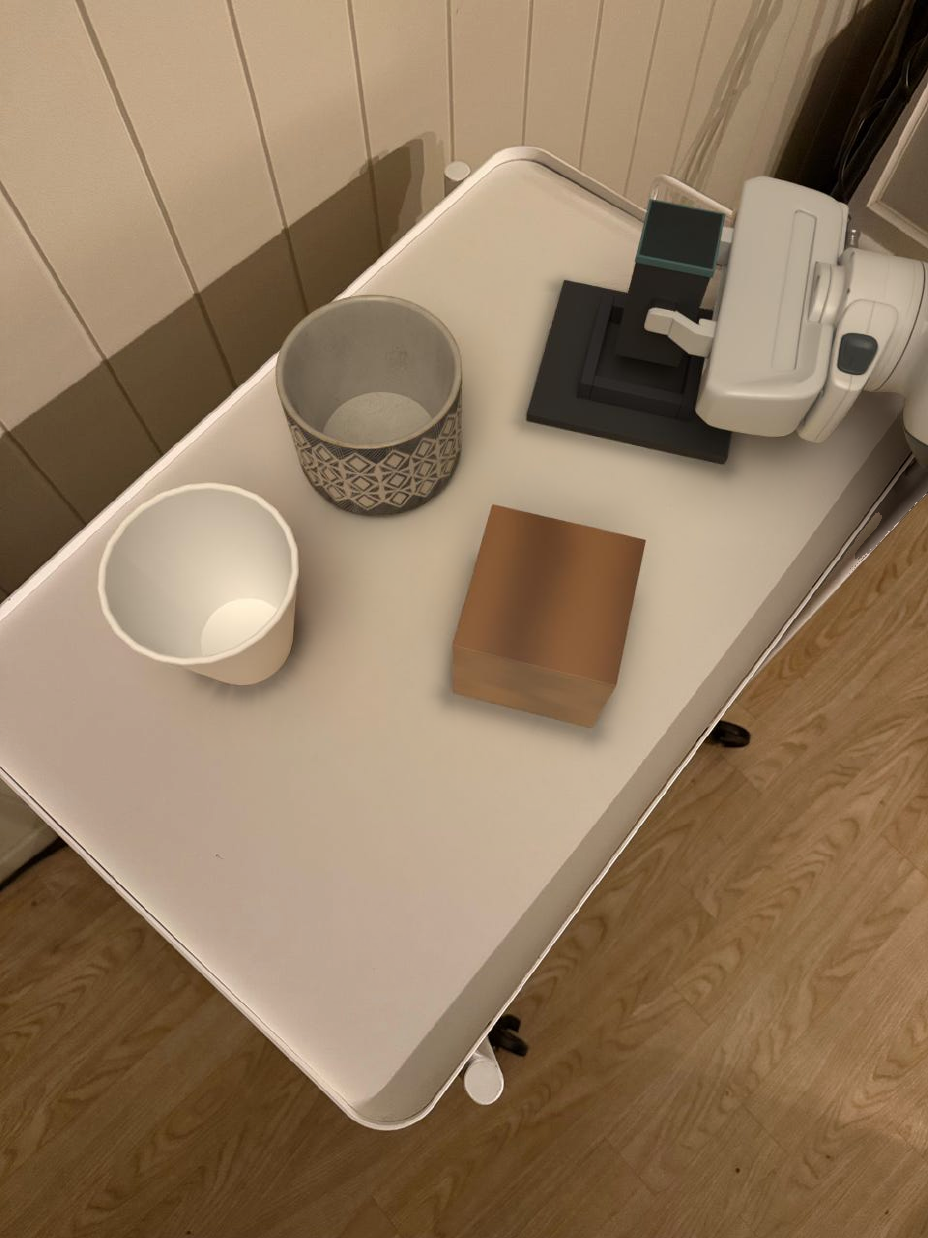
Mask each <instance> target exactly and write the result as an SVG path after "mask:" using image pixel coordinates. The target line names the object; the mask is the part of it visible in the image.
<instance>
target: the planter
mask: <svg viewBox="0 0 928 1238" xmlns="http://www.w3.org/2000/svg"><path fill="white" fill-rule="evenodd" d="M274 376H275V384H276V391H277V393H278V397H279V400H280V403H281V406H282V407H281V408H282V410H283V412H284V415H285V419H286V422H287V426H288V429H289V432H290V435H291V438H292V441H293V443H294V448H295V451H296V454H297V458H298V460H299V463H300V466H301V469H302V471H303V474H304V476H305V478H306V479H307V480H308V482H309V484H310V485H311V487H312V488H313V489H314V490H315V491H316V492H317V493H318V494H319V495H320V496H321V497H322V498H324V499H325V500H327V501H328V502H329V503H331V504H333V505H335V506H336V507H338V508H340V509H343V510H345V511H348V512H351V513H354V514H360V515H366V516H390V515H396V514H401V513H404V512H408V511H411V510H414V509H416V508H417V507H419V506H422V505H423V504H426V503H427V502H428V501H430V500H431V499H433V498H434V497H435V496H437V494H438V493H440V492H441V491H442V490H443V489H444V488H445V486H446V485H447V484H448V482H449V481H451V479H452V477H453V475H454V473H455V472H456V470H457V468H458V465H459V461H460V458H461V453H462V441H463V432H462V431H463V360H462V354H461V351H460V348H459V345H458V343H457V341H456V338H455V337H454V335H453V334H452V332H451V330H449V328H448V327H447V325H446V324H445V323H444V322H443V321H442V320H440V318H439V317H438V316H436V315H435V314H434V313H433V312H431V311H430V310H428V309H426V308H425V307H423V306H422V305H420V304H418V303H415V302H412V301H410V300H407V299H404V298H401V297H396V296H393V295H385V294H360V295H359V294H358V295H352V296H348V297H342V298H340V299H336V300H334V301H331V302H328V303H326V304H324V305H322V306H320V307H318V308H316V309H315V310H313V311H312V312H310V313H309V314H307V315H306V316H305V317H304V318H302V319H301V320H300V321H299V322H298V323H297V324H296V325H295V326H294V327H293V328H292V330H291V331H290V332H289V334H288V335H287V337H286V338H285V340H284V341H283V343H282V345H281V347H280V350H279V352H278V355H277V360H276V364H275V375H274Z"/></svg>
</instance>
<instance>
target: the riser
mask: <svg viewBox="0 0 928 1238" xmlns="http://www.w3.org/2000/svg"><path fill="white" fill-rule="evenodd" d="M646 542H647V540H646V539H645V538H639V537H635V536H630V535H627V534H624V533H623V534H622V533H618V532H614V531H610V530H605V529H601V528H598V527H597V528H596V527H592V526H588V525H584V524H579V523H575V522H571V521H566V520H562V519H558V518H554V517H550V516H545V515H541V514H536V513H532V512H529V511H524V510H519V509H515V508H511V507H508V506H507V507H506V506H502V505H498V504H493V503H492V504H491V507H490V510H489V515H488V517H487V521H486V525H485V529H484V532H483V536H482V539H481V543H480V546H479V549H478V554H477V558H476V560H475V564H474V568H473V571H472V575H471V578H470V582H469V584H468V590H467V592H466V596H465V600H464V603H463V606H462V610H461V614H460V617H459V621H458V624H457V628H456V632H455V635H454V639H453V641H452V642H453V643H452V688H453V689H452V693H453V694H454V695H458V696H463V697H467V698H470V699H474V700H479V701H482V702H485V703H490V704H494V705H498V706H502V707H506V708H510V709H513V710H518V711H522V712H525V713H529V714H534V715H538V716H541V717H545V718H548V719H549V718H550V719H554V720H558V721H561V722H566V723H569V724H573V725H577V726H581V727H585V728H588V729H592V728H593V727H594V725H595V724H596V721H597V720H598V719H599V717H600V715H601V713H602V711H603V709H604V707H605V706H606V705H607V703H608V701H609V700H610V698H611V696H612V694H613V691H614V690H615V689H616V687H617V684H618V679H619V673H620V670H621V665H622V664H621V663H622V659H623V654H624V648H625V644H626V640H627V633H628V629H629V625H630V620H631V616H632V615H631V614H632V611H633V605H634V600H635V595H636V590H637V586H638V581H639V576H640V570H641V565H642V562H643V556H644V552H645V547H646Z"/></svg>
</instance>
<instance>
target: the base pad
mask: <svg viewBox="0 0 928 1238" xmlns="http://www.w3.org/2000/svg"><path fill="white" fill-rule="evenodd" d="M627 295H628V292H625V291H620V290H616V289H611V288H606V287H603V286H602V287H601V286H598V285H597V286H596V285H592V284H588V283H582V282H577V281H573V280H568V279H564V280H563V283H562V286H561V290H560V292H559V297H558V300H557V304H556V307H555V311H554V315H553V318H552V322H551V325H550V329H549V333H548V336H547V340H546V344H545V347H544V351H543V354H542V357H541V358H542V359H541V361H540V364H539V369H538V373H537V376H536V379H535V383H534V387H533V391H532V394H531V398H530V401H529V405H528V408H527V413H526V417H525V420H526V421H527V422H531V423H535V424H540V425H544V426H549V427H552V428H558V429H562V430H568V431H571V432H576V433H581V434H585V435H587V436H588V435H589V436H594V437H598V438H602V439H605V440H611V441H615V442H621V443H625V444H630V445H634V446H638V447H642V448H647V449H652V450H656V451H659V452H660V451H661V452H665V453H669V454H674V455H678V456H682V457H688V458H690V459H691V458H692V459H696V460H701V461H705V462H710V463H714V464H719V465H724V464H725V463H726V462H727V460H728V457H729V451H730V446H731V439H732V435H733V434H732V433H733V431H729V430H725V429H720V428H716V427H713V426H710V425H708V424H707V423H706V422H705V421H704V420H702V419H701V418H700V417H699V416H698V414H697V413H696V412H695V406H696V401H697V396H698V390H699V385H700V380H701V375H702V369H703V364H704V359H705V357H702V356H697V355H692V354H689V353H687V352H686V351H685V350H684V352H683V355H682V358H681V361H680V364H679V366H678V367H674V366H669V365H665V364H660V363H655V362H650V361H645V360H640V359H636V358H631V357H626V356H621V355H616V354H614V349H615V345H616V341H617V336H618V332H619V328H620V324H621V320H622V315H623V311H624V307H625V303H626V299H627ZM713 311H714V310H712V309H707V308H702V307H700V308H699V311H698V314H697V317H696V319H695V322H694V323H696V324H697V325H698V322H699V320H700V319H707V320H712V317H713Z"/></svg>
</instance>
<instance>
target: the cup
mask: <svg viewBox="0 0 928 1238" xmlns="http://www.w3.org/2000/svg"><path fill="white" fill-rule="evenodd" d="M299 558H300V556H299V548H298V545H297V542H296V538H295V536H294V533H293V530H292V527H291V526H290V525H289V523H288V522H287V521H286V519H285V518H284V516H283V515H282V514H281V512H280V511H279V509H277V508H276V507H275V506H274V505H272V504H271V503H270V502H268V501H267V500H266V499H265V498H263V497H262V496H261V495H259V494H258V493H255V492H253V491H250V490H248V489H246V488H243V487H241V486H238V485H234V484H227V483H221V482H213V481H209V482H198V483H186V484H183V485H180V486H177V487H174V488H170V489H168V490H163V491H162V492H160V493H158V494H156V495H155V496H153V497H151V498H149V499H148V500H146V501H144V502H142V503H140V504H139V505H138V506H137V507H136V508H135V509H133V510H132V511H131V512H130V513H129V514H128V515H127V516H126V517H124V519H122V520H121V522H120V523H119V525H118V526H117V527H116V529H115V530H114V532H113V533H112V535H111V536H110V537H109V540H108V541H107V542H106V545H105V548H104V551H103V554H102V556H101V559H100V562H99V565H98V577H97V593H98V597H99V603H100V607H101V610H102V614H103V616H104V618H105V619H106V621H107V622H108V624H109V626H110V628H111V629H112V631H113V632H114V634H115V635H116V636H117V637H118V638H119V639H120V640H122V641H123V642H124V643H125V644H126V645H127V646H128V647H130V648H131V649H132V650H133V651H134V652H136V653H138V654H141V655H142V656H143V655H144V656H145V657H147V658H150V659H151V660H154V661H156V662H159V663H160V662H161V663H165V664H166V663H167V664H170V665H173V666H176V667H179V668H182V669H185V670H187V671H190V672H193V673H196V674H199V675H202V676H205V677H207V678H211V679H213V680H216V681H219V682H222V683H225V684H229V685H234V686H235V685H236V686H247V685H254V684H258V683H261V682H263V681H265V680H267V679H269V678H270V677H272V676H273V675H275V674H276V673H277V672H278V671H279V670H280V669H281V668H282V667H283V666H284V665H285V663H286V661H287V659H288V657H289V656H290V654H291V650H292V646H293V642H294V627H295V615H296V599H297V587H298V586H297V585H298V580H299V575H300V559H299Z"/></svg>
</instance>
